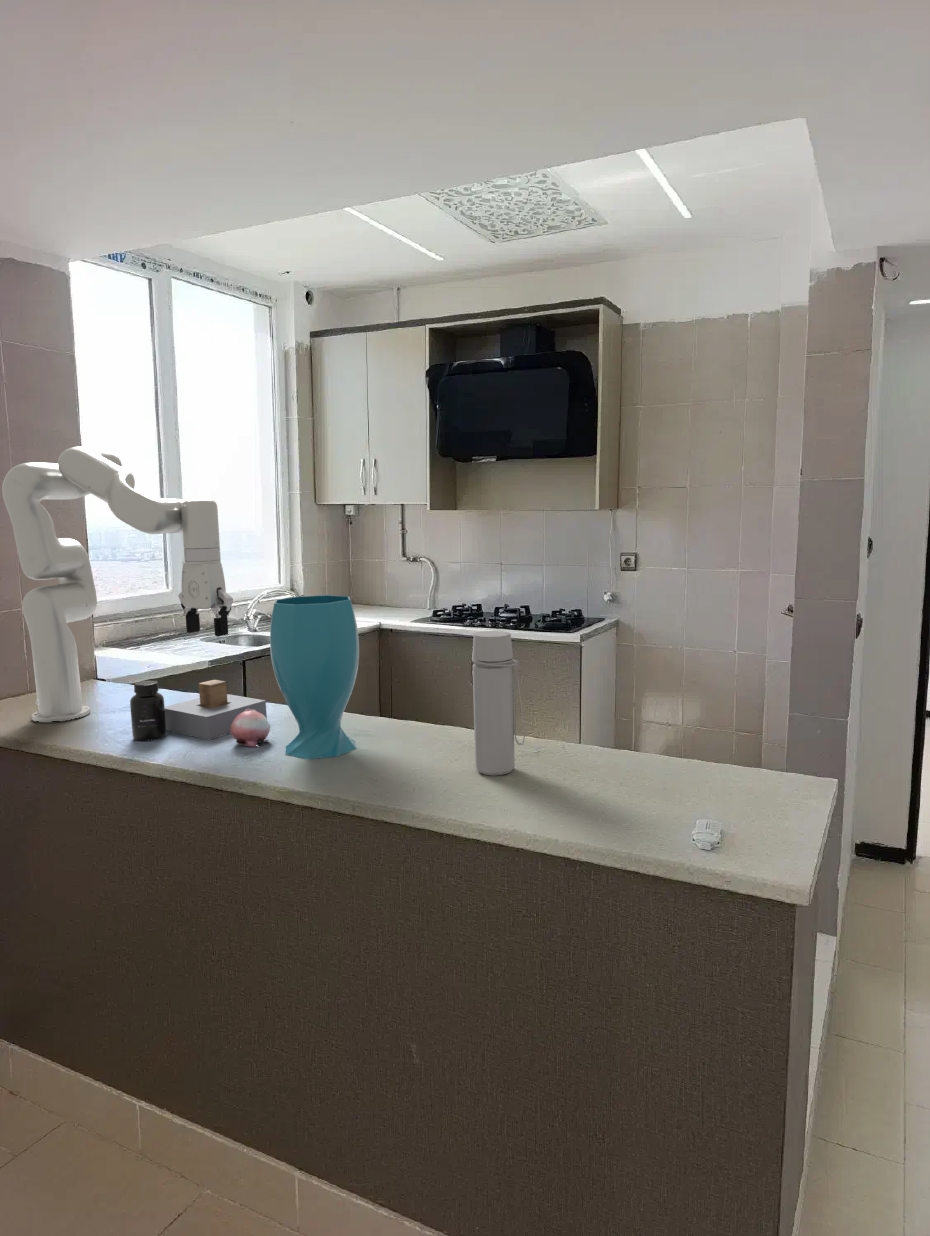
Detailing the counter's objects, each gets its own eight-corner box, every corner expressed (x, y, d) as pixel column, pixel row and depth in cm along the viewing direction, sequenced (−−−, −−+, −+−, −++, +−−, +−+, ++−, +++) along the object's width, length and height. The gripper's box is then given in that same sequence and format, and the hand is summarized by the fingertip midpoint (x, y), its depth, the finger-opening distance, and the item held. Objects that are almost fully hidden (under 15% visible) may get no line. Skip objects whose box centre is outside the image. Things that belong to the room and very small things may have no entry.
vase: (381, 742, 164) (374, 596, 160) (321, 766, 150) (312, 607, 146) (320, 731, 174) (312, 593, 170) (258, 752, 160) (248, 603, 156)
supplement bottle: (144, 743, 169) (139, 687, 167) (126, 738, 173) (121, 684, 171) (173, 735, 174) (168, 681, 172) (155, 731, 178) (151, 678, 176)
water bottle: (472, 777, 142) (468, 637, 138) (477, 763, 149) (473, 630, 146) (524, 778, 140) (521, 637, 137) (527, 764, 148) (524, 630, 145)
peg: (202, 726, 180) (198, 683, 179) (217, 722, 184) (214, 679, 182) (213, 729, 178) (210, 685, 177) (229, 725, 181) (226, 681, 180)
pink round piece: (257, 740, 172) (267, 708, 171) (271, 752, 165) (280, 719, 165) (221, 736, 167) (231, 702, 167) (234, 748, 161) (244, 713, 160)
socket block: (162, 729, 179) (160, 707, 178) (221, 713, 192) (219, 692, 191) (208, 739, 170) (207, 716, 169) (267, 721, 183) (265, 700, 182)
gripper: (163, 556, 177) (168, 632, 180) (213, 558, 168) (218, 639, 170) (192, 554, 183) (196, 628, 186) (242, 556, 174) (246, 634, 176)
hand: (207, 633), depth 178 cm, fingers open, 9 cm apart
